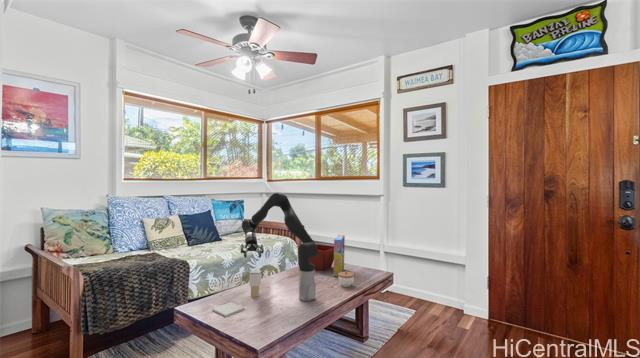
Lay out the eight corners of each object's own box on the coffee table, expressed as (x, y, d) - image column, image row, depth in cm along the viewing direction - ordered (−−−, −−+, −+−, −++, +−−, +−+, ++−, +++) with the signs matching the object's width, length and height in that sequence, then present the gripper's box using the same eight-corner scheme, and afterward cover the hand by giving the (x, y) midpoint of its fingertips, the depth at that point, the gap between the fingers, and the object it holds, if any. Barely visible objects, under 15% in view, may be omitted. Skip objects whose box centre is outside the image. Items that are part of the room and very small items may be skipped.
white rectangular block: (260, 282, 191) (260, 269, 191) (259, 286, 185) (260, 272, 185) (250, 282, 191) (250, 270, 191) (249, 286, 185) (249, 273, 185)
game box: (340, 277, 226) (341, 240, 226) (333, 276, 227) (333, 239, 227) (344, 269, 246) (344, 235, 246) (337, 268, 247) (337, 234, 247)
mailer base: (259, 293, 191) (259, 271, 191) (258, 296, 186) (258, 273, 186) (251, 293, 190) (251, 271, 190) (250, 296, 185) (251, 273, 185)
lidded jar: (353, 288, 203) (354, 274, 203) (337, 287, 204) (337, 273, 204) (354, 283, 213) (354, 269, 213) (338, 282, 215) (338, 268, 215)
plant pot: (304, 268, 245) (304, 247, 245) (316, 263, 261) (317, 243, 261) (324, 273, 235) (325, 251, 235) (336, 267, 251) (337, 246, 251)
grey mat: (244, 309, 167) (244, 307, 167) (225, 316, 158) (225, 315, 158) (231, 303, 175) (231, 301, 175) (212, 310, 165) (212, 308, 165)
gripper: (240, 235, 201) (242, 251, 187) (262, 235, 205) (265, 252, 192) (239, 244, 204) (240, 261, 190) (260, 244, 209) (263, 261, 195)
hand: (252, 256), depth 191 cm, fingers open, 8 cm apart
